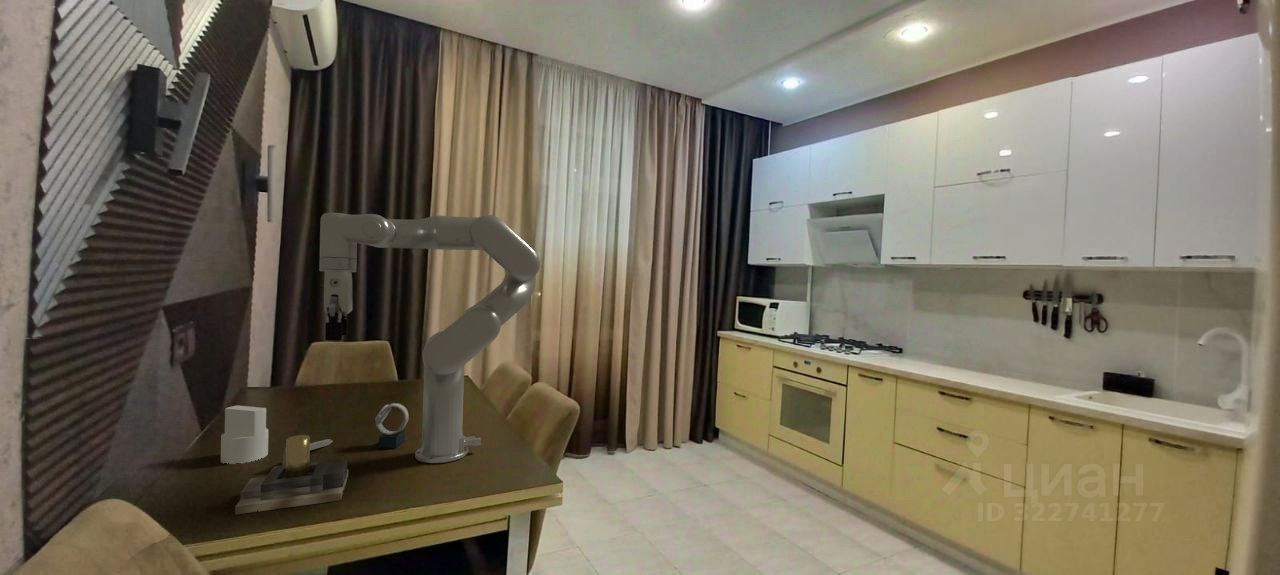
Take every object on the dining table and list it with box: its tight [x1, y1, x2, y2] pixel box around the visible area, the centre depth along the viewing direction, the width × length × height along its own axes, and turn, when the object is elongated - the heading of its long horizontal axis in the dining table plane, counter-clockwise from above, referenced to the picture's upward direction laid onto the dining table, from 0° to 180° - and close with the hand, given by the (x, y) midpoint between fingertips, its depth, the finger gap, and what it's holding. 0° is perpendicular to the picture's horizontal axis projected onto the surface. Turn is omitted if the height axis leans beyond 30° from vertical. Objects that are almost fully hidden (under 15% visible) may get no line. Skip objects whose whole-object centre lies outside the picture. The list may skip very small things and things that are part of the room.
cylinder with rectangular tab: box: [220, 405, 269, 465], centre depth 119 cm, size 9×9×12 cm
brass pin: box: [285, 434, 311, 478], centre depth 101 cm, size 4×4×10 cm
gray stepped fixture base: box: [234, 460, 350, 516], centre depth 101 cm, size 17×13×4 cm
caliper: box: [282, 438, 334, 465], centre depth 122 cm, size 20×1×6 cm, turn 6°
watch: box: [374, 402, 410, 450], centre depth 131 cm, size 6×8×11 cm
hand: (336, 337), depth 117 cm, fingers open, 9 cm apart
